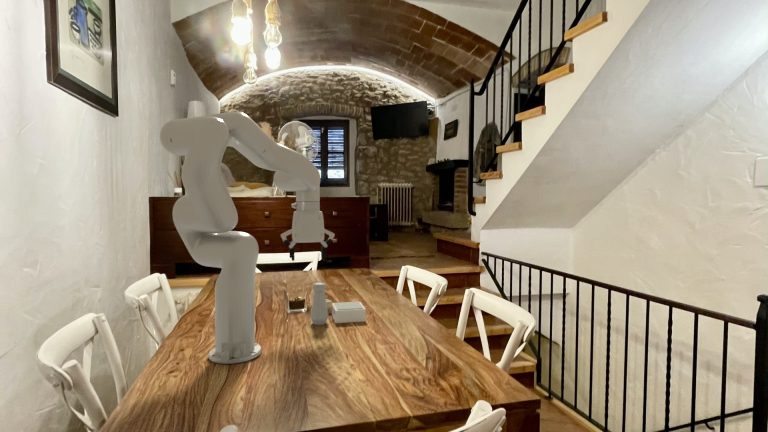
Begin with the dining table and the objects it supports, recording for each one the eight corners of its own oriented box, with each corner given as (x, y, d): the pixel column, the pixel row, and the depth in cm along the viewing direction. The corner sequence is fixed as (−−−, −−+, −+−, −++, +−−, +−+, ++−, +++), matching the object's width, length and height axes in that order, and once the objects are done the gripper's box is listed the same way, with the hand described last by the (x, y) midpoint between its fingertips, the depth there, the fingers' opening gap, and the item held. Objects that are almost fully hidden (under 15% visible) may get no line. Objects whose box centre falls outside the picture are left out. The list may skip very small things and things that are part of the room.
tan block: (332, 312, 144) (332, 301, 144) (322, 314, 142) (322, 302, 142) (327, 309, 147) (327, 299, 147) (317, 311, 145) (317, 300, 145)
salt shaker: (330, 321, 134) (330, 281, 133) (326, 326, 128) (326, 285, 127) (312, 320, 134) (312, 281, 134) (307, 325, 129) (308, 284, 128)
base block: (365, 321, 134) (365, 308, 133) (335, 323, 131) (335, 310, 131) (360, 312, 143) (360, 300, 143) (331, 314, 141) (331, 302, 141)
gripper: (280, 207, 126) (281, 262, 127) (336, 207, 131) (336, 260, 132) (280, 206, 133) (280, 258, 134) (332, 206, 138) (332, 257, 139)
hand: (308, 259), depth 133 cm, fingers open, 9 cm apart
